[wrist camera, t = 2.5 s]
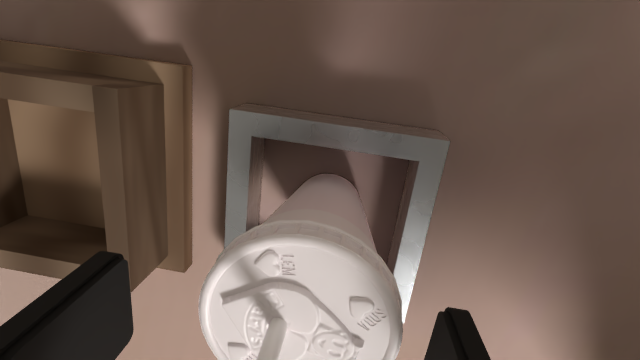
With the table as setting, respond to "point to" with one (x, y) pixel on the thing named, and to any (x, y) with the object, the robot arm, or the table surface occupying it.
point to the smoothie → (304, 284)
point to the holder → (345, 134)
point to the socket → (93, 160)
